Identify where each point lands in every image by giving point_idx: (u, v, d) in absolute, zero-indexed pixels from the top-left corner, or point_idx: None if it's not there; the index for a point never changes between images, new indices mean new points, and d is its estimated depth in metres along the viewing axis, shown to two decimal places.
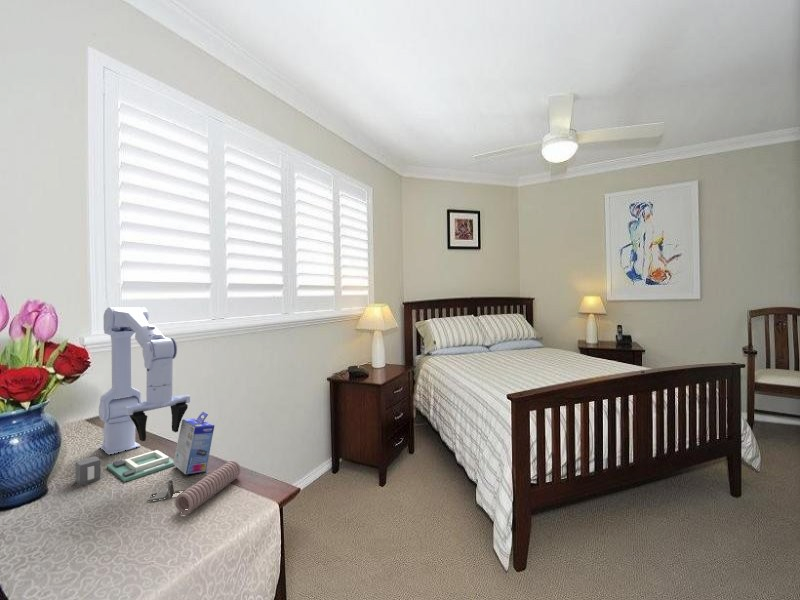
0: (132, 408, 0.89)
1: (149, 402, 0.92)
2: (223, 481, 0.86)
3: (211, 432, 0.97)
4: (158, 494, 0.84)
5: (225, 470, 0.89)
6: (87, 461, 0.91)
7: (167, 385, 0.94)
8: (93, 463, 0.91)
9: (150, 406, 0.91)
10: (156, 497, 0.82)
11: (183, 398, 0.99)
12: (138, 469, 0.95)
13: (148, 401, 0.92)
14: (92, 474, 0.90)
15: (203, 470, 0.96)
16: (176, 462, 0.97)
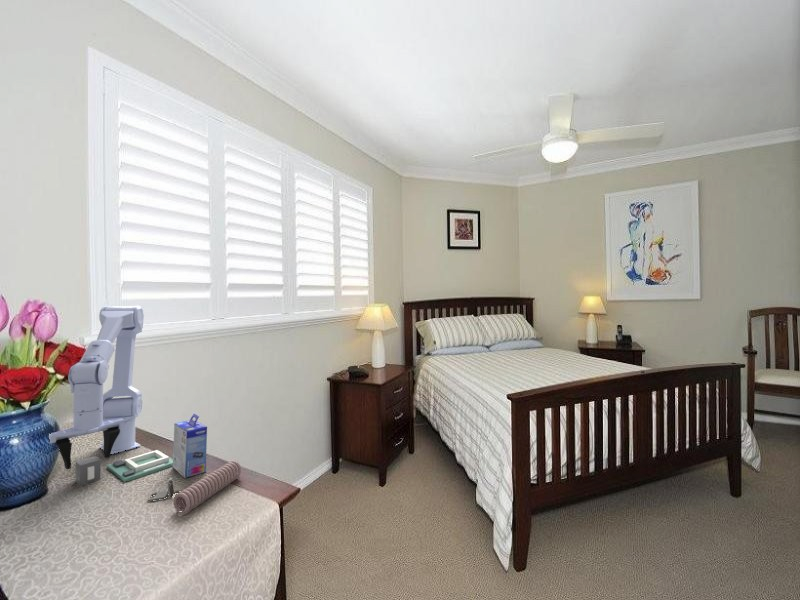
0: (55, 435, 0.86)
1: (75, 428, 0.89)
2: (222, 481, 0.86)
3: (205, 433, 0.96)
4: (158, 494, 0.84)
5: (225, 470, 0.89)
6: (87, 461, 0.91)
7: (95, 410, 0.91)
8: (93, 463, 0.91)
9: (75, 433, 0.88)
10: (156, 497, 0.82)
11: (115, 422, 0.95)
12: (138, 469, 0.95)
13: (74, 427, 0.89)
14: (92, 474, 0.90)
15: (203, 471, 0.96)
16: (175, 465, 0.97)
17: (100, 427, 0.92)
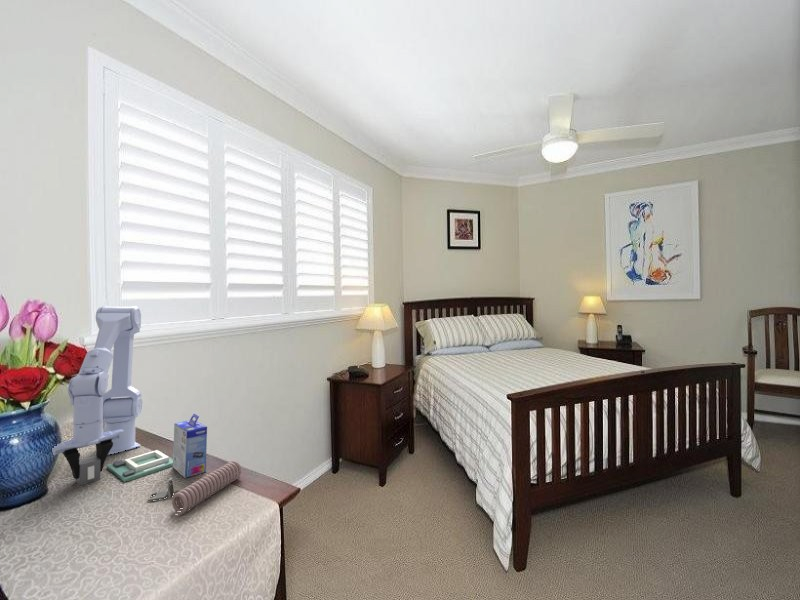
0: (55, 448, 0.86)
1: (75, 441, 0.89)
2: (222, 481, 0.86)
3: (205, 433, 0.96)
4: (158, 494, 0.84)
5: (225, 470, 0.89)
6: (87, 461, 0.91)
7: (95, 422, 0.91)
8: (93, 463, 0.91)
9: (75, 445, 0.88)
10: (156, 497, 0.82)
11: (115, 434, 0.95)
12: (138, 469, 0.95)
13: (74, 440, 0.89)
14: (92, 474, 0.90)
15: (203, 471, 0.96)
16: (175, 465, 0.97)
17: (100, 439, 0.92)
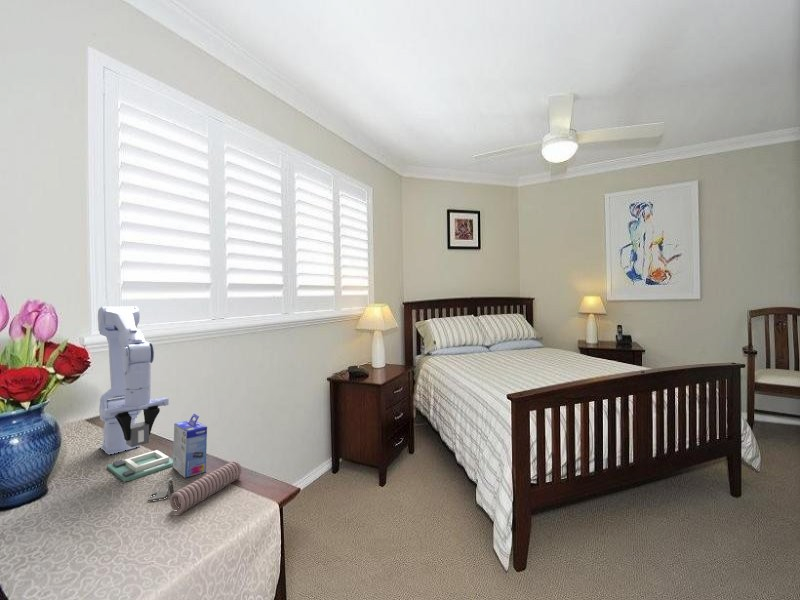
0: (110, 411, 0.92)
1: (127, 405, 0.96)
2: (221, 482, 0.86)
3: (205, 433, 0.96)
4: (158, 494, 0.84)
5: (224, 470, 0.89)
6: (137, 425, 0.97)
7: (145, 388, 0.97)
8: (142, 427, 0.97)
9: (127, 409, 0.95)
10: (156, 497, 0.82)
11: (161, 401, 1.02)
12: (138, 469, 0.95)
13: (126, 404, 0.96)
14: (142, 437, 0.97)
15: (203, 471, 0.96)
16: (175, 465, 0.97)
17: (148, 404, 0.98)
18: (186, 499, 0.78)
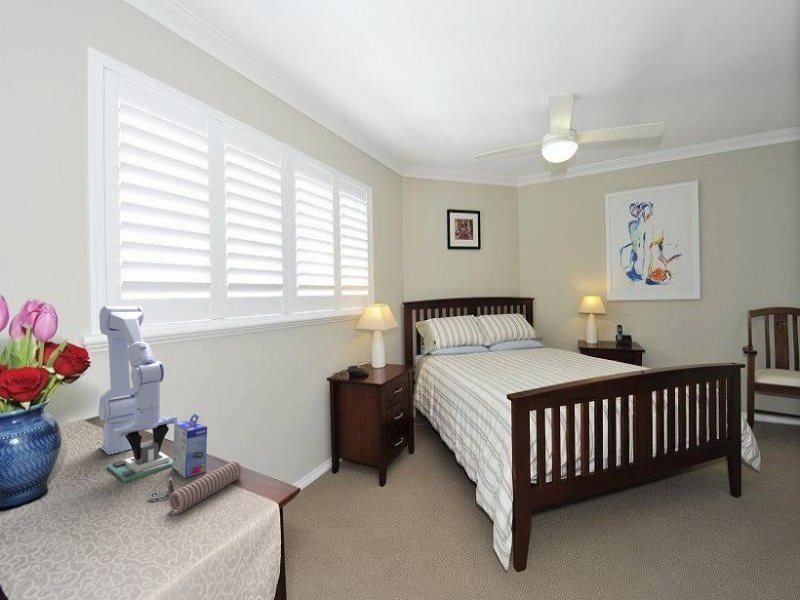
0: (120, 431, 0.94)
1: (137, 424, 0.97)
2: (220, 482, 0.86)
3: (205, 433, 0.96)
4: (158, 494, 0.84)
5: (224, 470, 0.88)
6: (147, 444, 0.99)
7: (154, 408, 0.99)
8: (152, 446, 0.99)
9: (138, 428, 0.96)
10: (156, 497, 0.82)
11: (170, 419, 1.03)
12: (138, 469, 0.95)
13: (136, 423, 0.97)
14: (152, 456, 0.98)
15: (203, 471, 0.96)
16: (175, 465, 0.97)
17: (158, 423, 1.00)
18: (185, 499, 0.78)
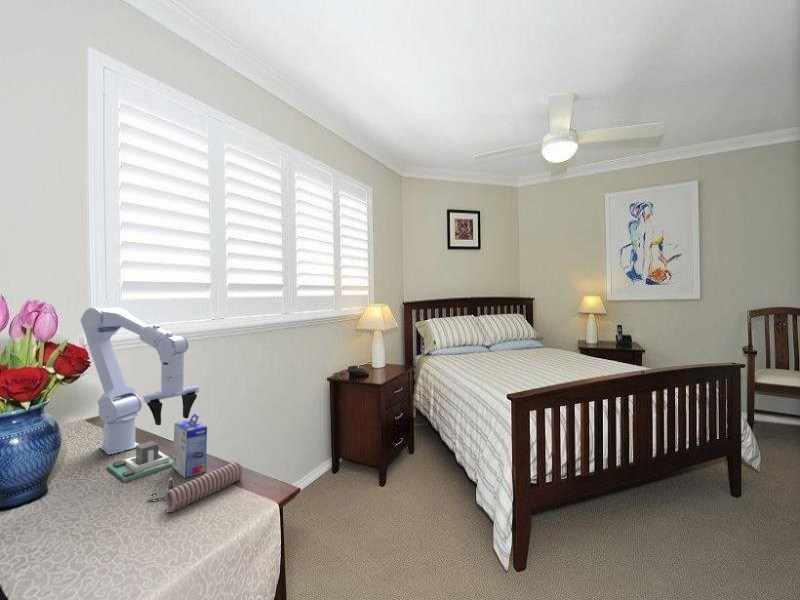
0: (149, 396, 1.03)
1: (164, 391, 1.06)
2: (218, 482, 0.86)
3: (205, 433, 0.96)
4: (158, 494, 0.84)
5: (224, 471, 0.88)
6: (147, 445, 0.99)
7: (179, 377, 1.08)
8: (152, 447, 0.99)
9: (165, 395, 1.05)
10: (156, 497, 0.82)
11: (193, 388, 1.12)
12: (138, 469, 0.95)
13: (163, 390, 1.06)
14: (152, 457, 0.98)
15: (203, 471, 0.96)
16: (175, 465, 0.97)
17: (182, 391, 1.09)
18: (178, 498, 0.78)
